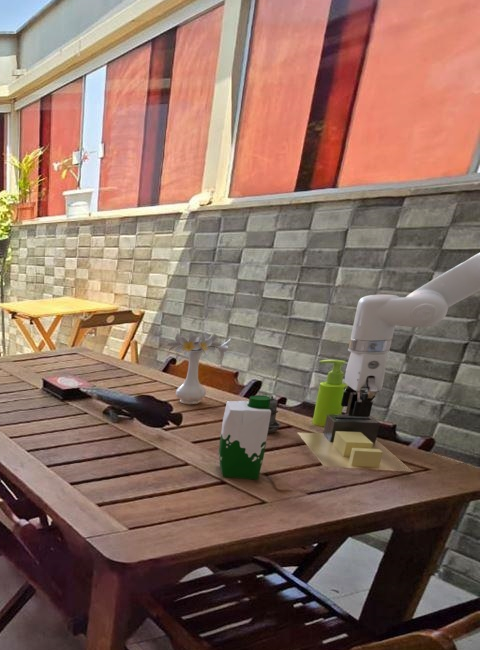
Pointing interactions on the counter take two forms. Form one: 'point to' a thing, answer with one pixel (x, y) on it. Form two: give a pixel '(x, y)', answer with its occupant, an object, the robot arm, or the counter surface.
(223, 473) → the milk carton
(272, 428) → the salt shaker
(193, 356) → the flower vase
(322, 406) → the soap dispenser
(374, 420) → the block
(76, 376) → the counter surface
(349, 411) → the knife
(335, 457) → the cutting board
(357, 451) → the butter slice
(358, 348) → the robot arm
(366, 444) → the butter
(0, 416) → the counter surface
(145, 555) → the counter surface
